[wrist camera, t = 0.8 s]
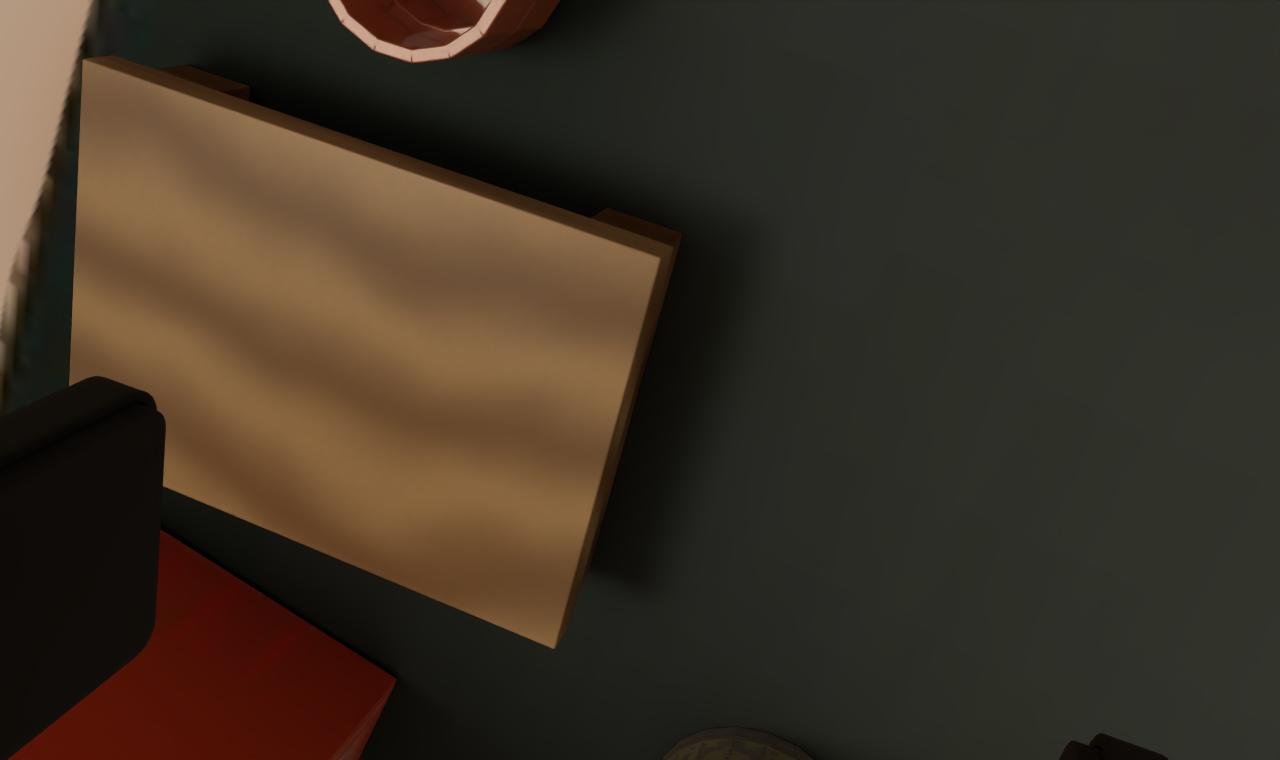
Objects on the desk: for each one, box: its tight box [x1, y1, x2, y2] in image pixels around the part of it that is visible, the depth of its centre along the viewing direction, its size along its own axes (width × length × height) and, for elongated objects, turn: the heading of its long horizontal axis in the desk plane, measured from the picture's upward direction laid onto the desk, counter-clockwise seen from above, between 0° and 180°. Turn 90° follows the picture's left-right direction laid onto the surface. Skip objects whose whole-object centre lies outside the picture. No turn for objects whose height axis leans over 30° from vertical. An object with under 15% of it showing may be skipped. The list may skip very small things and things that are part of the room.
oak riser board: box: [69, 56, 682, 649], centre depth 44 cm, size 16×22×5 cm
